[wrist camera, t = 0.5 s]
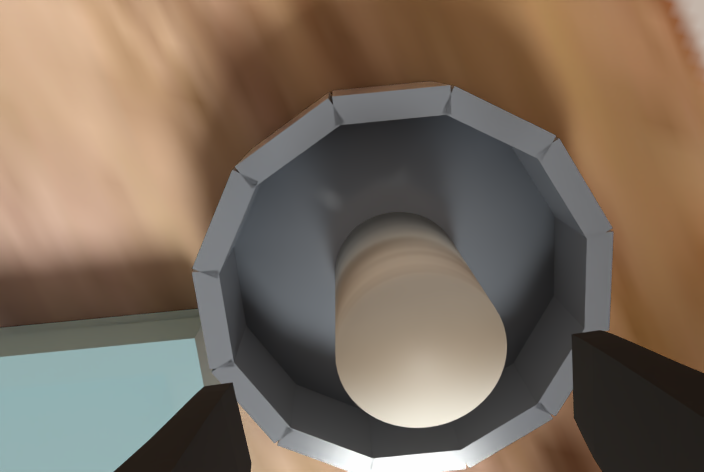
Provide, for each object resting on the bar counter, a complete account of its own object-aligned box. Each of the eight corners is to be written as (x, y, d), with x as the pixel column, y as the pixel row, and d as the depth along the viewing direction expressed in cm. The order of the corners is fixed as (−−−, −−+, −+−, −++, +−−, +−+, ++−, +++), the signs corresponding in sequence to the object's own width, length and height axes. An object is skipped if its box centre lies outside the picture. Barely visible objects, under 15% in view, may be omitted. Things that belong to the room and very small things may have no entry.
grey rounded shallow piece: (565, 398, 23) (604, 455, 20) (246, 429, 23) (232, 491, 20) (571, 67, 19) (620, 68, 16) (192, 103, 19) (162, 113, 16)
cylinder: (461, 322, 21) (508, 419, 15) (341, 333, 21) (344, 435, 15) (456, 206, 20) (506, 264, 14) (329, 218, 20) (326, 282, 14)
